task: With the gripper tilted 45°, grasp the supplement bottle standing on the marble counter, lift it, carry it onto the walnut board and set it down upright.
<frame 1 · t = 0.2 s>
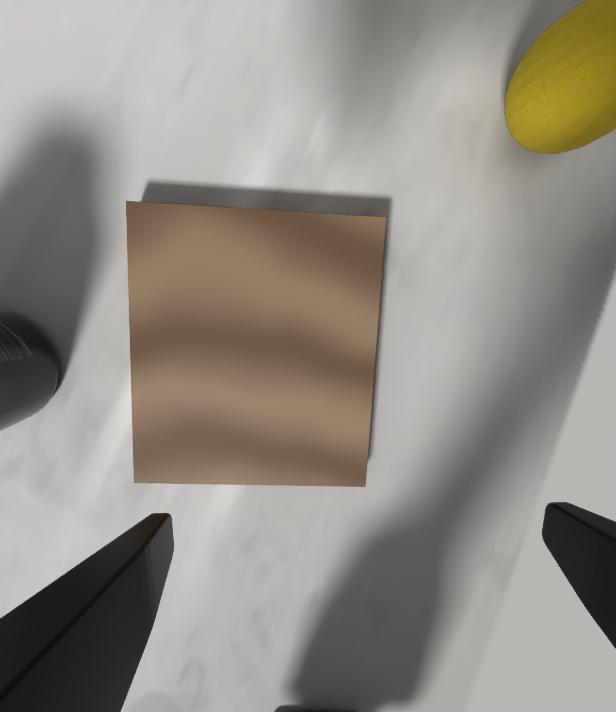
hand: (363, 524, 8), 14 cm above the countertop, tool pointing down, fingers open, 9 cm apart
lemon: (520, 126, 21), on the countertop
supplement bottle: (7, 365, 21), on the countertop
walnut board: (257, 351, 22), on the countertop
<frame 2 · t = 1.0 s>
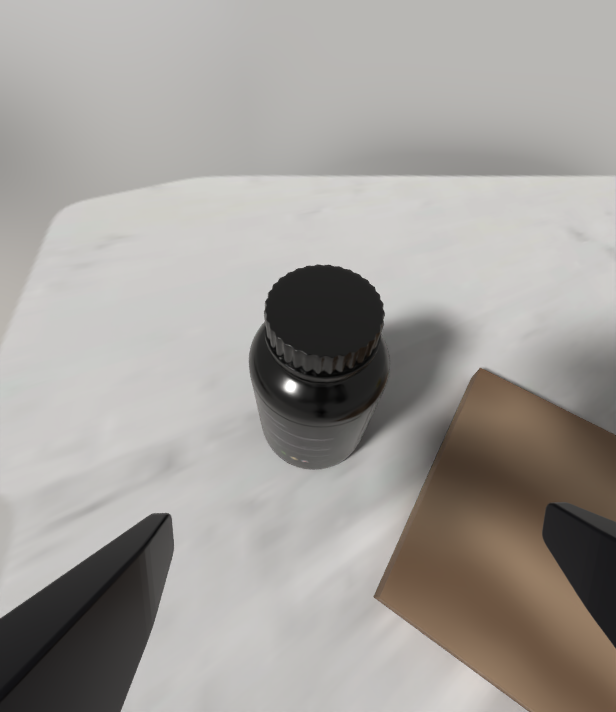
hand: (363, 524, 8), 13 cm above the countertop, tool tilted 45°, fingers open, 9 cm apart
supplement bottle: (311, 423, 24), on the countertop
walnut board: (542, 536, 21), on the countertop
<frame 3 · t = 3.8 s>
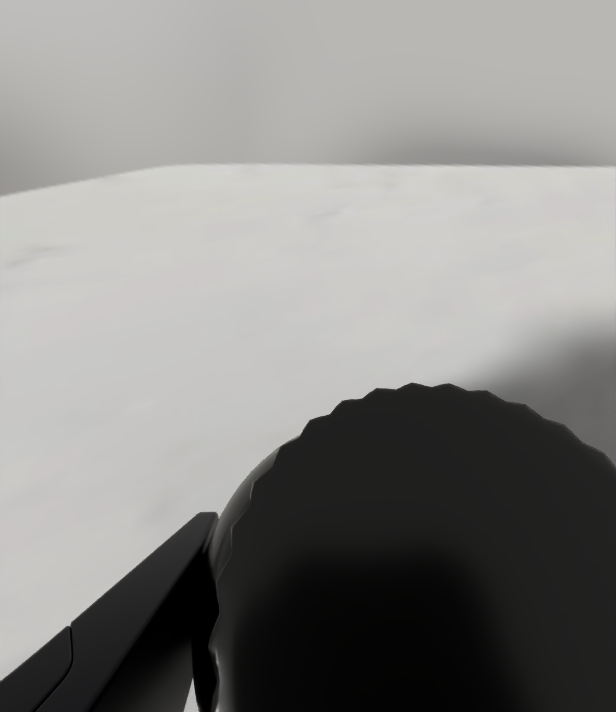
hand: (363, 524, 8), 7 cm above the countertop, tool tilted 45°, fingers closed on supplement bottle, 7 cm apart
supplement bottle: (337, 592, 13), on the countertop, touching gripper
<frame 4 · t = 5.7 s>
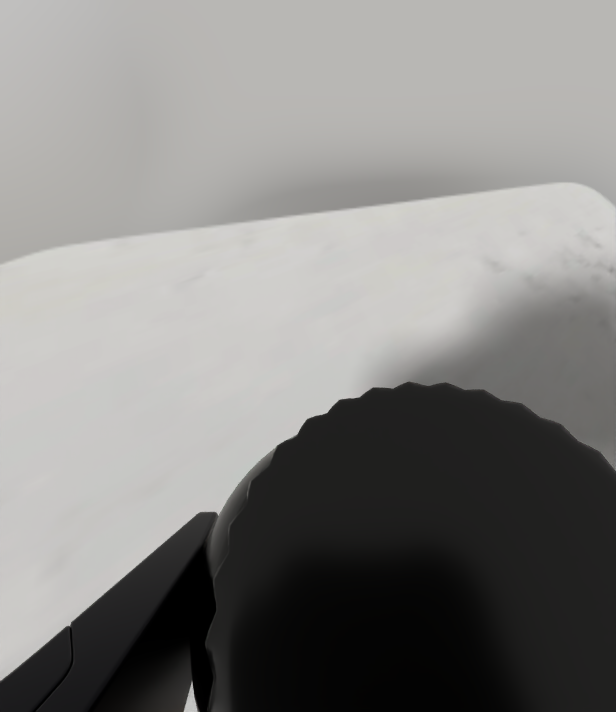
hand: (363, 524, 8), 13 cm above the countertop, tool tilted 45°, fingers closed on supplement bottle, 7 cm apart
supplement bottle: (336, 590, 13), point 6 cm above the countertop, touching gripper
when the fingers open (9 cm above the countertop, at t = 7.7 s): supplement bottle drops 1 cm, resting on walnut board.
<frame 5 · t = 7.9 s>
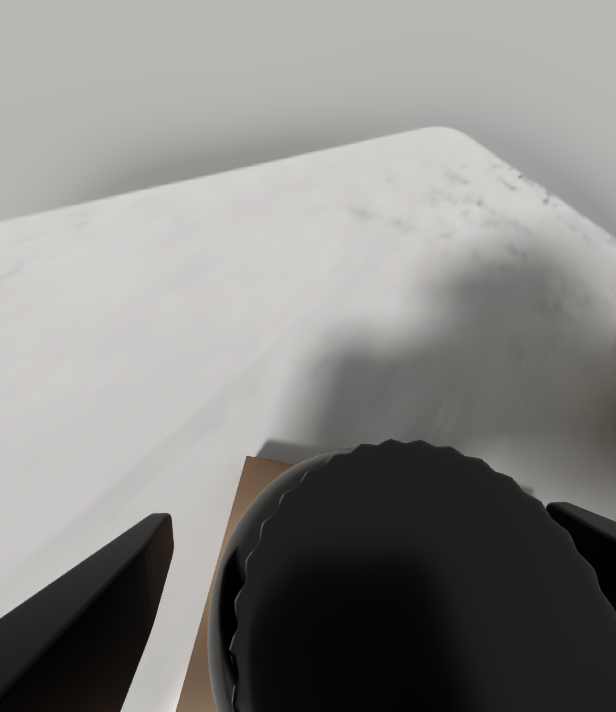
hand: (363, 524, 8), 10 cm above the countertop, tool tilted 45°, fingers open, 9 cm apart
supplement bottle: (334, 595, 14), point 1 cm above the countertop, touching walnut board
walnut board: (371, 703, 14), on the countertop
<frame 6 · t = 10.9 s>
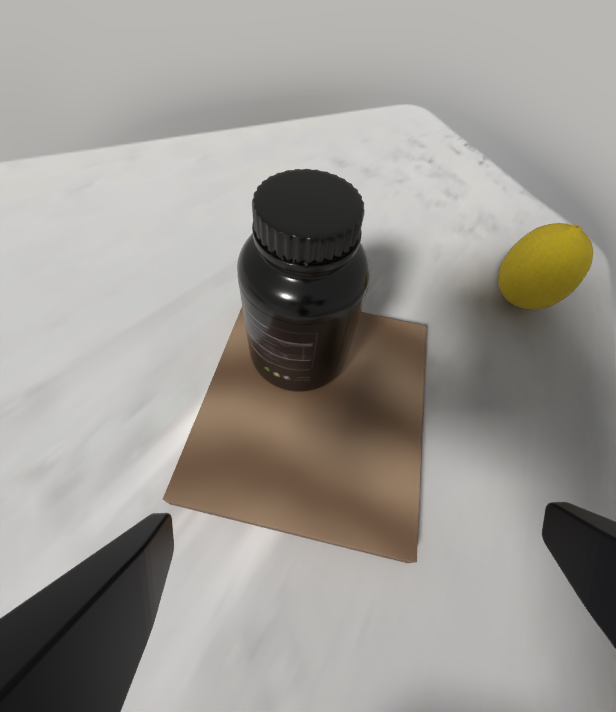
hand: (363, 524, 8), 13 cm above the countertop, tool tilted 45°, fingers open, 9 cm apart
lemon: (511, 304, 31), on the countertop
supplement bottle: (297, 353, 25), point 1 cm above the countertop, touching walnut board
walnut board: (314, 407, 25), on the countertop
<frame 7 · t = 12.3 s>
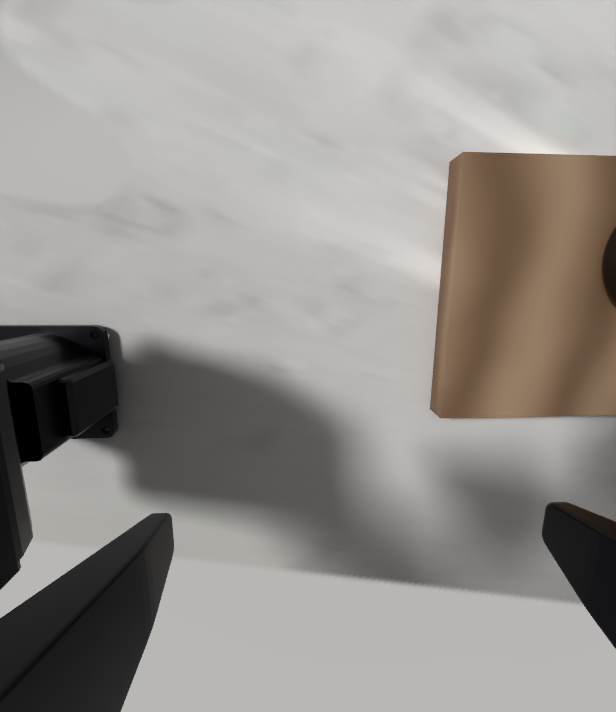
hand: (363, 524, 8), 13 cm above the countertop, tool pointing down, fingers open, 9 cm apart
walnut board: (571, 294, 21), on the countertop
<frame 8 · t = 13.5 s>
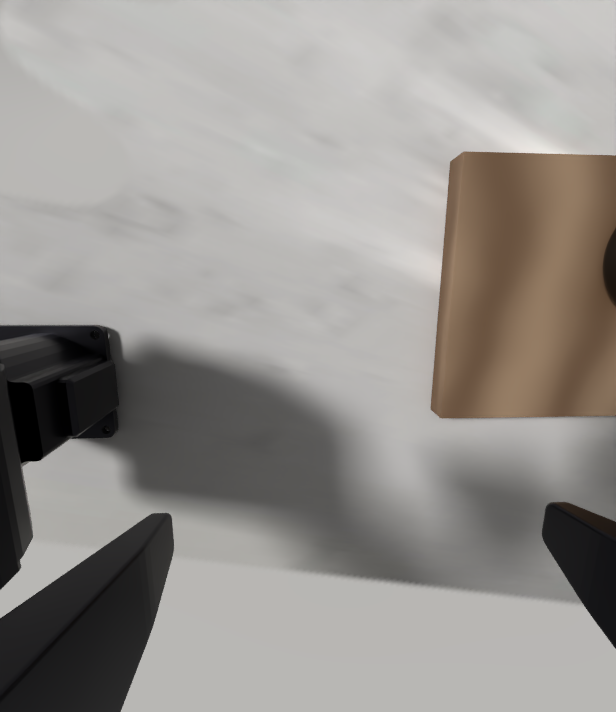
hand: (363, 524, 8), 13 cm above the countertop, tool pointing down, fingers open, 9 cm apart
walnut board: (572, 294, 21), on the countertop
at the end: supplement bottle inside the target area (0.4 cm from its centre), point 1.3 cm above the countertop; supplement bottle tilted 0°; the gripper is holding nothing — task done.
